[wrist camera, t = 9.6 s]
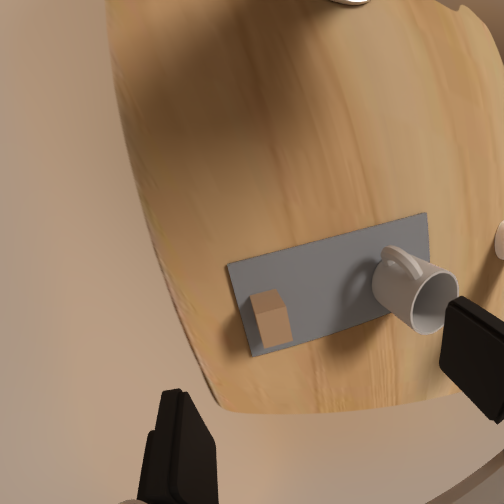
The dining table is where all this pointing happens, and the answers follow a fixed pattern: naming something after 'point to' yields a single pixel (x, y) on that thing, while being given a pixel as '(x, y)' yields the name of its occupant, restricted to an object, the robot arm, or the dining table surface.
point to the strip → (318, 284)
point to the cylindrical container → (500, 241)
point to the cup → (413, 289)
